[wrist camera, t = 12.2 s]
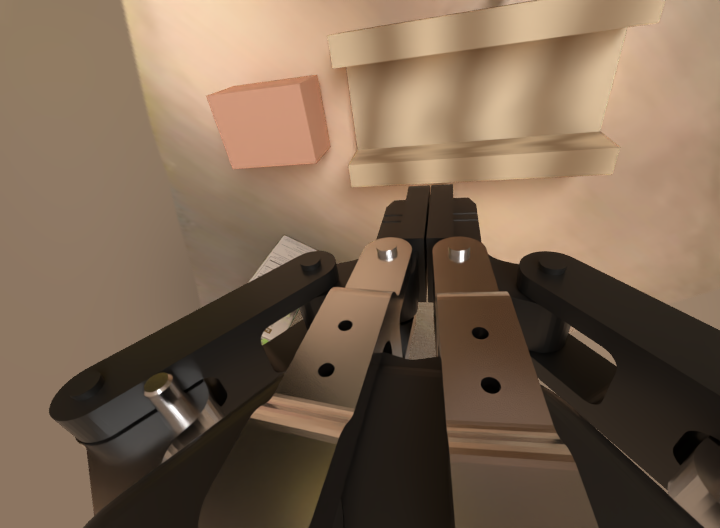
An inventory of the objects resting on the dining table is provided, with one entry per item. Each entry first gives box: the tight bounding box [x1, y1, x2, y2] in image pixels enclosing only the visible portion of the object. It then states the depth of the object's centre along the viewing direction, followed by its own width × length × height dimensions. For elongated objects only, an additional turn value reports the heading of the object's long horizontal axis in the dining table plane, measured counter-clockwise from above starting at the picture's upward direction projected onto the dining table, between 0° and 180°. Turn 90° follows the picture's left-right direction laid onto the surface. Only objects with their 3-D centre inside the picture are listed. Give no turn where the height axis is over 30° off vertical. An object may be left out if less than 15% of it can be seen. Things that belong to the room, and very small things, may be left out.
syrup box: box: [248, 235, 317, 345], centre depth 37 cm, size 6×6×14 cm
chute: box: [327, 0, 666, 187], centre depth 26 cm, size 20×11×5 cm, turn 98°
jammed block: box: [206, 75, 330, 169], centre depth 29 cm, size 8×6×4 cm
